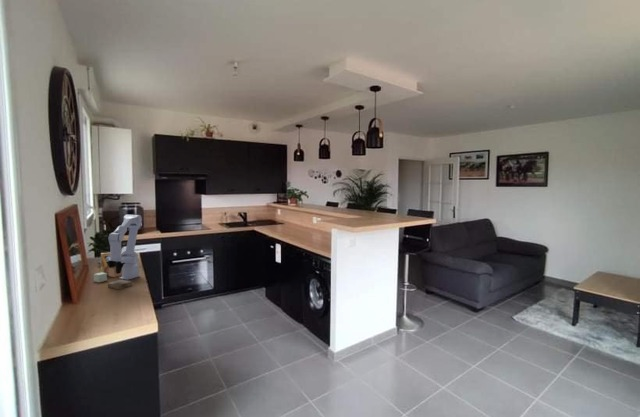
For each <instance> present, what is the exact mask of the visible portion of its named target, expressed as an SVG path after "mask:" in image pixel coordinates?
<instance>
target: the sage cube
mask: <svg viewBox="0 0 640 417" xmlns="http://www.w3.org/2000/svg"><path fill="white" fill-rule="evenodd" d="M106 281H108V275H107V273H103V272H101V271H100V272H97V273H94V274H93V282H96V283H102V282H106Z"/></svg>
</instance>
